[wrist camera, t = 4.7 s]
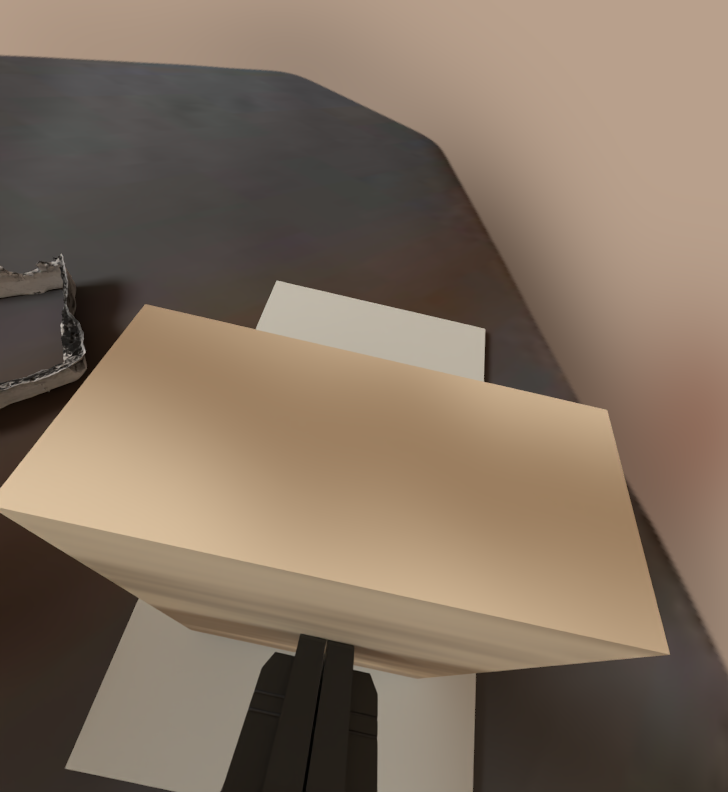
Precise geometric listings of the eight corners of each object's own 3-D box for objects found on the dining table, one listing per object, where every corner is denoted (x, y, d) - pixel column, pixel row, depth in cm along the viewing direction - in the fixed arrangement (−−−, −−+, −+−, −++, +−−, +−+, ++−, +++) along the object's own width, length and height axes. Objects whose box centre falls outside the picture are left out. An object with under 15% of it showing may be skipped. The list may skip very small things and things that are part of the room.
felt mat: (466, 846, 14) (471, 853, 14) (72, 764, 14) (64, 768, 13) (482, 333, 27) (485, 329, 26) (277, 286, 26) (276, 280, 26)
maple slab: (417, 678, 16) (669, 654, 5) (190, 630, 15) (-14, 504, 5) (425, 566, 18) (604, 400, 8) (231, 523, 18) (151, 295, 8)
